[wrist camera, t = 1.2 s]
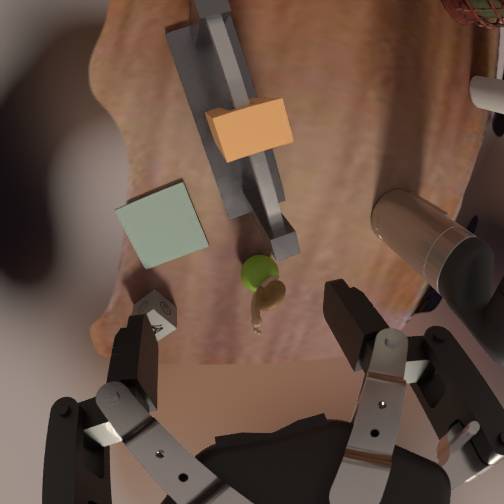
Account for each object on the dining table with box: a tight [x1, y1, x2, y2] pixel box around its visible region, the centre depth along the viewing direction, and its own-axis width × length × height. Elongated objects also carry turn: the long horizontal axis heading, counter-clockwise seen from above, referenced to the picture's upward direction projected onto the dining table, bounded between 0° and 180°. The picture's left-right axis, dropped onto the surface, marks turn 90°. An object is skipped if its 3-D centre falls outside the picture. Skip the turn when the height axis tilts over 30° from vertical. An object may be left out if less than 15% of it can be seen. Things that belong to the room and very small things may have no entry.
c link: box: [205, 98, 294, 163], centre depth 26 cm, size 5×4×11 cm, turn 106°
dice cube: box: [132, 289, 177, 341], centre depth 44 cm, size 5×5×5 cm
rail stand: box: [165, 0, 300, 261], centre depth 28 cm, size 8×26×15 cm, turn 16°
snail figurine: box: [241, 255, 286, 335], centre depth 41 cm, size 5×6×12 cm
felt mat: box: [115, 181, 209, 269], centre depth 39 cm, size 10×10×1 cm
